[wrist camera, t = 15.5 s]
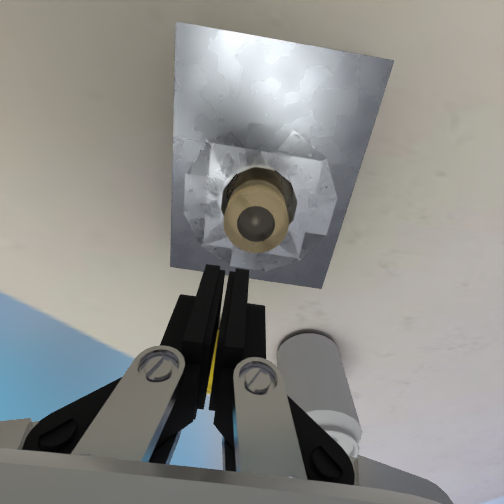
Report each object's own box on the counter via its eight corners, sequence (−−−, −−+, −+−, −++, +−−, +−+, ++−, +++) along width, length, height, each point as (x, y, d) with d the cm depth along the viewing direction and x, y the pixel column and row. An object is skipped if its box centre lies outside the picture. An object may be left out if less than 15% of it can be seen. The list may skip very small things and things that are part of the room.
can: (266, 360, 38) (267, 464, 27) (293, 319, 34) (307, 419, 24) (318, 378, 39) (338, 484, 28) (349, 340, 36) (385, 444, 25)
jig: (189, 32, 22) (175, 21, 18) (373, 65, 23) (394, 60, 19) (181, 246, 30) (170, 266, 27) (314, 266, 31) (321, 288, 27)
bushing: (237, 162, 26) (227, 187, 19) (287, 170, 26) (295, 198, 19) (231, 209, 28) (219, 248, 21) (277, 216, 29) (281, 258, 21)
